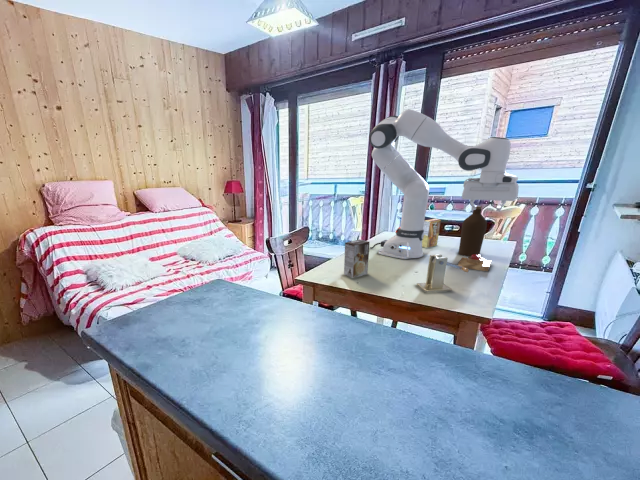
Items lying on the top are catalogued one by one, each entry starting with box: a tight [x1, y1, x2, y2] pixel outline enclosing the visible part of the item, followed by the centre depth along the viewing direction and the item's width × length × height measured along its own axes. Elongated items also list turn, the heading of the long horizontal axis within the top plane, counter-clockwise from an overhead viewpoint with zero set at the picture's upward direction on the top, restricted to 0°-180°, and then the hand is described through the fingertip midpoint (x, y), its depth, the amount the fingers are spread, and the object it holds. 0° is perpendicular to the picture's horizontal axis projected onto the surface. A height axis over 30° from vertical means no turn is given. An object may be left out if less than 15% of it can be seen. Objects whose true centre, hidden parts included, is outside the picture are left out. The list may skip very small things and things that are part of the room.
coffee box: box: [343, 239, 371, 278], centre depth 149 cm, size 9×6×16 cm
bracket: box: [416, 253, 452, 293], centre depth 130 cm, size 10×8×14 cm
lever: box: [432, 256, 470, 273], centre depth 129 cm, size 13×6×2 cm, turn 90°
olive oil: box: [458, 205, 488, 257], centre depth 167 cm, size 11×11×25 cm
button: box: [471, 254, 482, 260], centre depth 153 cm, size 4×4×2 cm
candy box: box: [422, 218, 442, 249], centre depth 186 cm, size 9×4×15 cm, turn 116°
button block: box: [457, 256, 492, 272], centre depth 154 cm, size 12×10×4 cm
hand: (485, 210), depth 145 cm, fingers open, 8 cm apart
